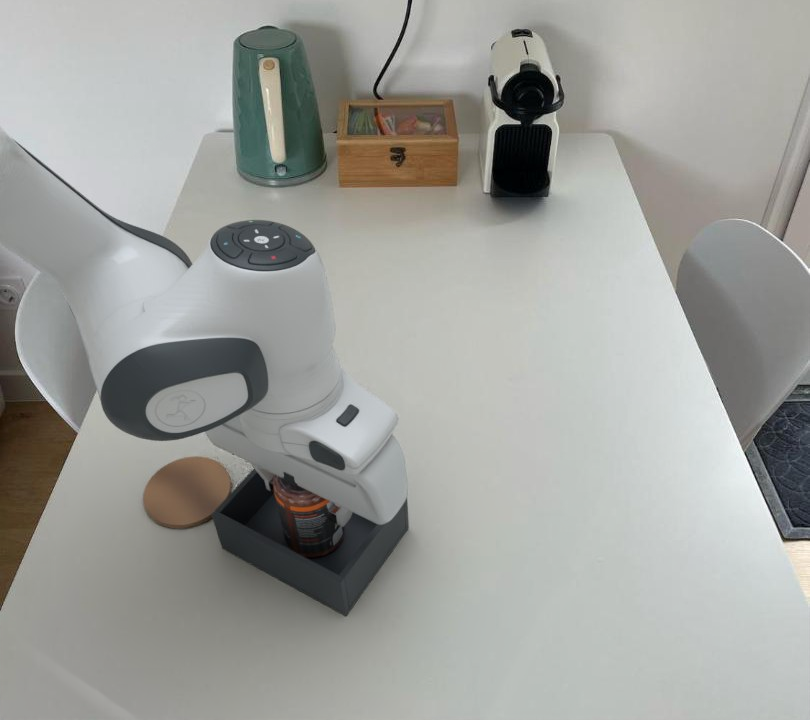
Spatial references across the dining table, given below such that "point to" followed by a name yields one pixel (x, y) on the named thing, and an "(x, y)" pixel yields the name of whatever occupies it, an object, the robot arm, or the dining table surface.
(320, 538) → the supplement bottle
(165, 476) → the coaster
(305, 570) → the bin
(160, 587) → the dining table surface
